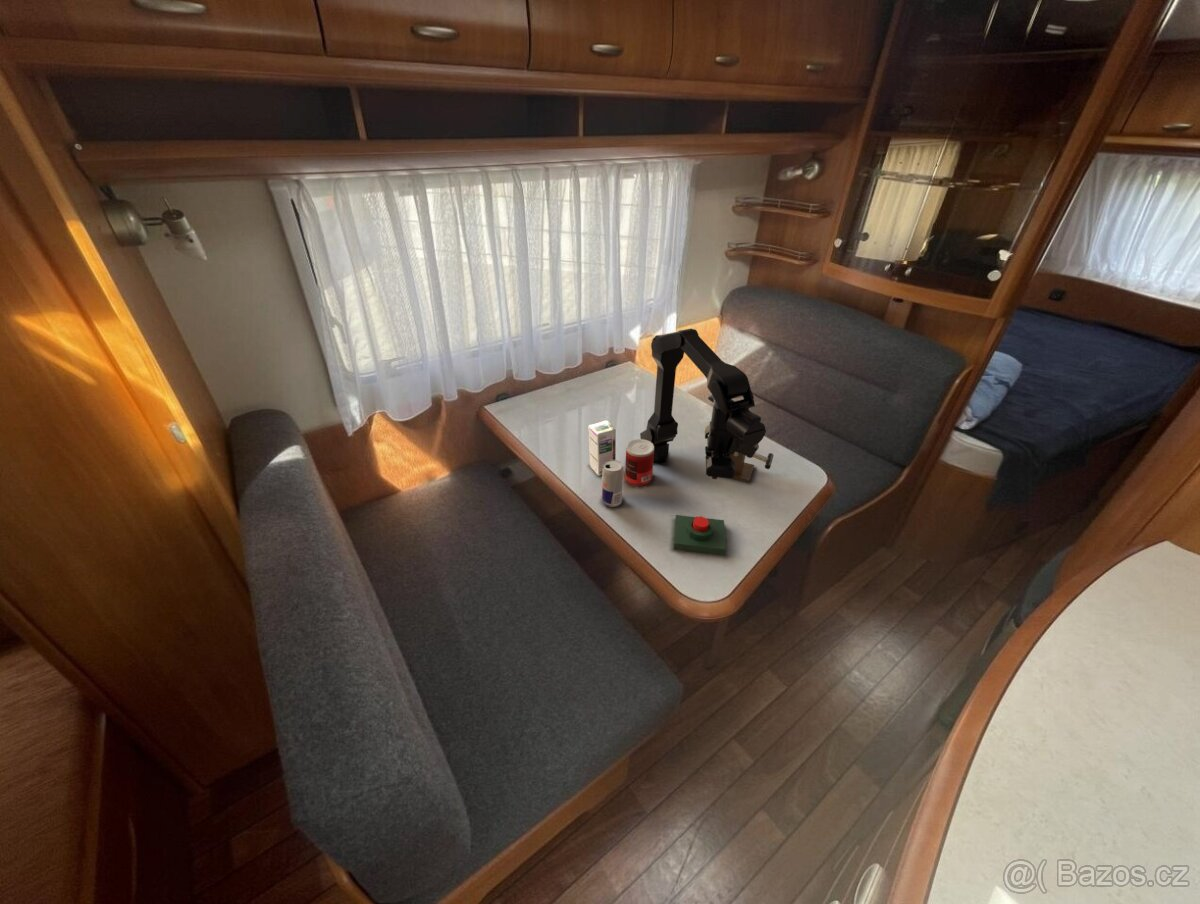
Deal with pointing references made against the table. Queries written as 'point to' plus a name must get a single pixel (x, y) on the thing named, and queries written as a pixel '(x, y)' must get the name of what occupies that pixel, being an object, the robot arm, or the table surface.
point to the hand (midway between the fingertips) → (714, 478)
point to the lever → (765, 459)
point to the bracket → (741, 467)
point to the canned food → (639, 462)
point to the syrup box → (601, 445)
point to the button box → (699, 536)
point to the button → (700, 524)
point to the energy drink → (612, 483)
